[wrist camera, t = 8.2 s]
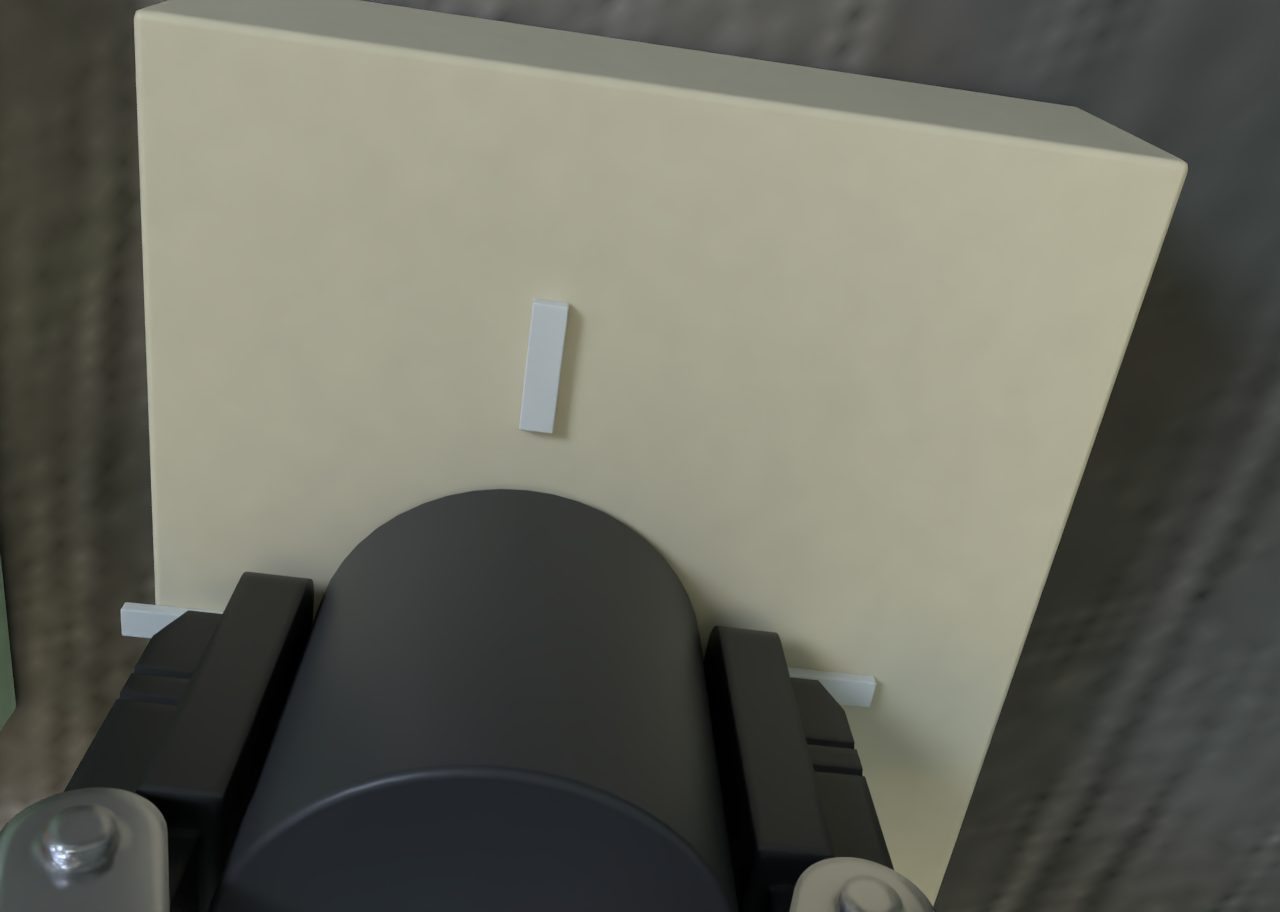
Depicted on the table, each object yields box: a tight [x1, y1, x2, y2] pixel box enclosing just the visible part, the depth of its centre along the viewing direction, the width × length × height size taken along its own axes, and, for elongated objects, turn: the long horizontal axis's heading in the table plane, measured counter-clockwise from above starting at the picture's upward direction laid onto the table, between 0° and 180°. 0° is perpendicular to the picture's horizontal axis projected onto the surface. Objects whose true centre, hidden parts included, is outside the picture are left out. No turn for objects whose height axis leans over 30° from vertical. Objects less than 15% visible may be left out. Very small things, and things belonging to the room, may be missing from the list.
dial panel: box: [121, 0, 1188, 906], centre depth 15 cm, size 13×10×3 cm
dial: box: [208, 489, 739, 912], centre depth 12 cm, size 4×4×5 cm
